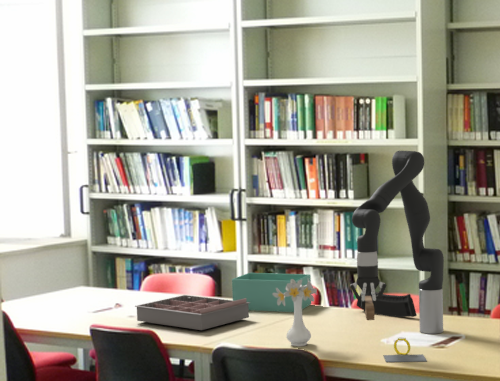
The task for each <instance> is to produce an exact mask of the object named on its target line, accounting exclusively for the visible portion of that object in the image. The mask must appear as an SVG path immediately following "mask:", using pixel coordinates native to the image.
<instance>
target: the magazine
mask: <svg viewBox="0 0 500 381" xmlns="http://www.w3.org/2000/svg"><path fill="white" fill-rule="evenodd" d="M378 293H379V291H378V292H377V291H375V295H376V296H377V295H378ZM359 296H361V293H360V294H359ZM365 296H371V298H372V294H371V292H370V291H367V292H366V294H365ZM356 306H357V307H358V308H360V309H361V310H362V308H361V300H357V301H356ZM415 307H416V306H415V304H414V300H413V297H412V295H411V294H410V293H408V294H406V295H395V294H385V293H383V295H382V297H381V299H378V300H376V309H375V311H374V315H380V316H385V317H395V318H397V317H398V318H400V317H401V318H403V317H405V318H406V317H407V318H409V317H411V318H413V317H414V318H415V317H416V316H417V312H416V308H415ZM363 313H365V311H364V310H363Z"/></svg>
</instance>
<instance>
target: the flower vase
mask: <svg viewBox="0 0 500 381" xmlns="http://www.w3.org/2000/svg"><path fill="white" fill-rule="evenodd" d="M301 283H302V280H299V281H298V282H297V284H296V282H295V280H294V279H291V280H290V283H288V284H287V286H286V288H285V290H287V292H285V293H284V294H283V293H282V292H280V290H279V289H278V288H276V291H277V292H278V293H272V294H273V296H274V297H276V298H278V300H277V305H280V304H281V302H282V304H283V305H284V306H285V297H288V296H292V301H293V302H294V312H293V323H292V325H291V327H290V329H289V330H288V331H287V333H286V339H287V341H289V342H290V345H291V346H292V347H305V346H307V345H308V342H310V340H311V338H312V334H311V332H310V330H309V328H307V327H306V326H305V323H304V320H303V309H302V299H304V301H306V300H307V298H309V299H310V300H311V302H315V298H314V295H313V294H315V295H318V292H317V288H315V287H313V285H312V282H310V281H309V279H308V283H307V285H304V286H302V284H301ZM305 287H306V288H305ZM301 290H302V291H301ZM303 295H304V297H303Z"/></svg>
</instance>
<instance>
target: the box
mask: <svg viewBox="0 0 500 381" xmlns="http://www.w3.org/2000/svg"><path fill="white" fill-rule="evenodd" d="M291 279H294V280H295V282H296V284H297V282H298V281H299V280H302V283H301V284H302V286H304V285H307V283H308V279H309V281H310V282H311V279H312V278H311V274H309V273H308V274H307V273H306V274H303V273H300V274H299V273H271V272H270V273H268V272H247V273H245V274H243V275H240V276H236V277H234V278H232V279H231V287H232V288H231V290H232V300H233V301H236V300H240V299H244V298H246V302H250V303H249V304H248V306H249V311H260V312H262V311H263V312H283V313H294V302H293V301H292V296H288V297H285V306H284V305H283V304H282V302H281V304H280V305H277V300H278V298H276V297H274V296H273V294H272V293H278V292H277V291H276V288H278V289H279V290H280V292H282V293H283V294H284V293H285V292H287V290H285V288H286V286H287V284H288V283H290V280H291ZM311 283H312V282H311ZM305 288H306V287H305ZM301 291H302V290H301ZM303 297H304V295H303ZM311 305H312V301H311V300H310V299H309V298H307V300H306V301H304V299H302V310H304V309H306V308H307V307H309V306H311Z"/></svg>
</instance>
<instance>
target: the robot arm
mask: <svg viewBox="0 0 500 381" xmlns="http://www.w3.org/2000/svg"><path fill="white" fill-rule="evenodd" d="M391 164H392V165H391V167H392V171H393V174H394V176H393V177H391V178H389V179H388V180H386V181H385V182H384V183H382V184H381V185H380V186H378V188H377V189H376V190H375V191H374V192H373V194H372V195H371V196H370V198H369V199H367V200H366V201H364V202H363V203H362V204H361V205H360V206H358V207H357V208H356V209H355V210H354V211H353V214H352V215H351V216H352V217H351V222H352V225H353V227H355V228H359V229H365V231H364V234H362V235H359V236H358V237H357V240H356V244H357V245H356V246H357V248H356V249H357V253H356V254H357V255H356V267H357V269H356V270H357V271H356V272H357V279H356V280H355V282H353V283H350V284H349V287H350V288H351V289H350V290H352V291H351V292H353V295H354V297H355V298H356V300H357V301H358V300H361V308H362V309H361V308H360V309H361V310H362V311H363V312H364V311H365V294H366V292H367V291H370V292H371V294H372V302H373V305H374V311H375V309H376V300H378V299H381V297H382V295H383V294H384V292H385V291H386V287H387V284H386V283H385V282H382V281H381V280H380V278H379V258H378V248H377V246H378V245H377V239H378V234H379V232H380V231H379V230H380V226H381V216H380V214H381V213H383V212H384V211H386V209H387V208H388V206H389V205H390V204H391V203H392V201H393V200H394V199H395V198H396V197H397V195H399V193H400V198H401V200H402V205H403V209H404V214H405V215H404V216H405V220H406V224H407V227H408V232H409V237H410V242H411V252H412V261H413V264H414V267H415V269H416V270H417V271H419V272H430V276H429V277H428V278H426V279H423V280H420V281H419V282H418V305H419V306H418V307H419V310H418V311H419V314H418V315H419V316H418V317H419V332H420V333H422V334H431V335H432V334H434V335H435V334H441V333H443V332H444V303H443V302H444V300H443V298H444V296H443V293H444V292H443V284H444V283H443V282H444V265H445V264H444V262H445V261H444V260H445V259H444V253H443V251H442V250H441V249H440V248H428V247H427V248H426V247H425V244H424V236H425V233H426V231H427V229H428V227H429V224H430V221H431V214H430V209H429V205H428V202H427V200H426V198H425V196H424V195H423V194H422V193H421V191H420V190H419V189H418V188H417V186H416V185H415V183H414V181H413V180H414V179H415V178H417V177H418V176H419V175H420V174H421V173H422V170H423V169H424V168H425V157H424V156H423V153H421V152H419V151H416V150H397V151H395V152H394V153H393V155H392V160H391ZM357 286H358V287H359V289H360V290H361V292H360V294H361V296H360V294H359V293H358V292H357V291H358V290H357V288H358V287H357ZM378 287H379V288H380V289H379V291H378V295H377V296H376V295H375V292H376V289H377V288H378Z"/></svg>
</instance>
